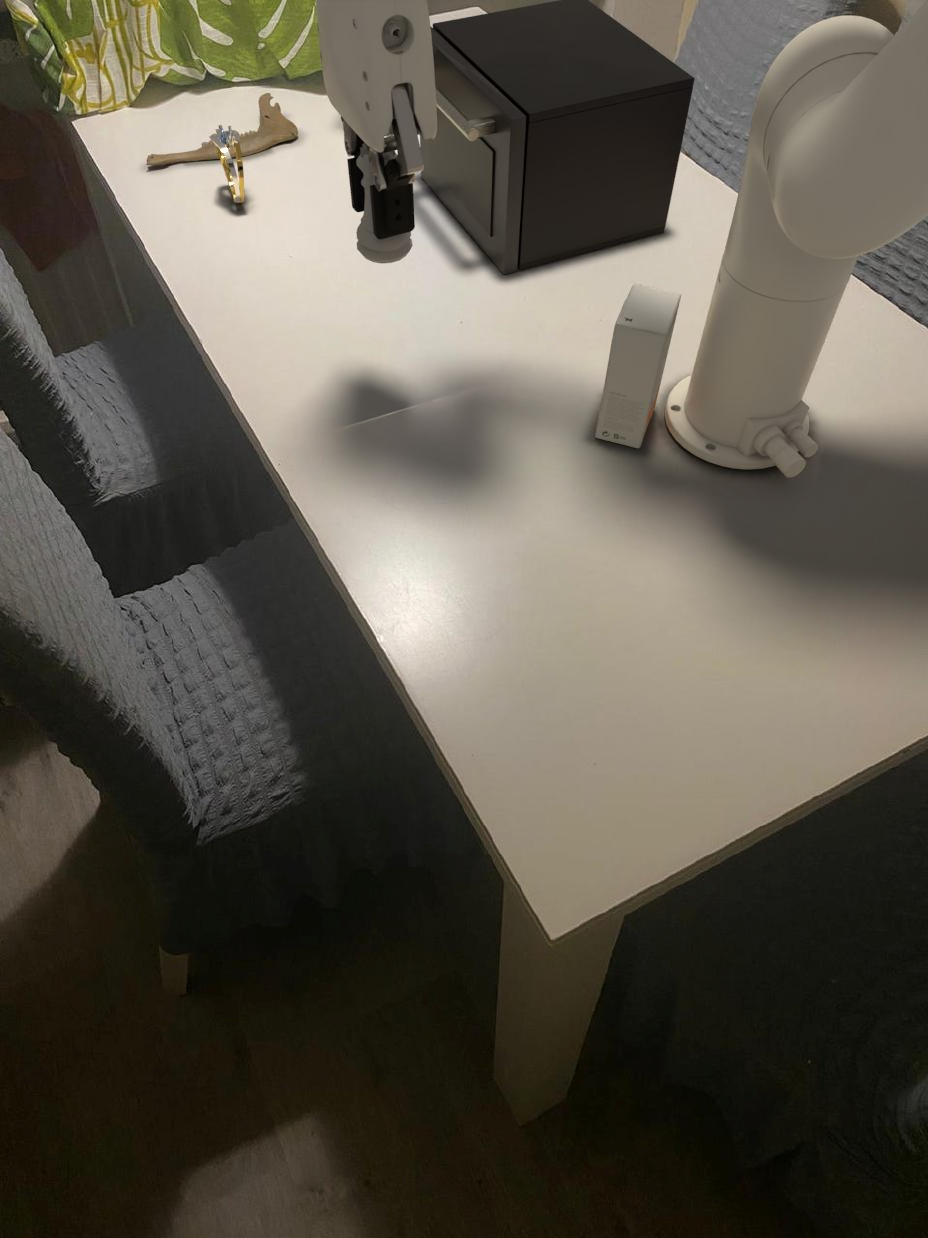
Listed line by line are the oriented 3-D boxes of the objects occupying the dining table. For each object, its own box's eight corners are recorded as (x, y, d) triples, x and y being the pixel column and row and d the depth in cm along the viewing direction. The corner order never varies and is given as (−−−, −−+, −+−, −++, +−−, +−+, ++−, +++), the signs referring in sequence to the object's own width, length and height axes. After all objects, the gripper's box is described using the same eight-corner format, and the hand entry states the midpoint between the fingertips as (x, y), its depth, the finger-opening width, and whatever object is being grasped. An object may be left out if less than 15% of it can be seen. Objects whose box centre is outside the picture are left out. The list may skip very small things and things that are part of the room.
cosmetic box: (640, 450, 79) (666, 335, 69) (593, 439, 80) (613, 323, 70) (656, 407, 82) (683, 291, 73) (611, 396, 83) (631, 280, 73)
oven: (519, 272, 95) (529, 113, 82) (435, 174, 107) (432, 22, 94) (664, 233, 99) (695, 77, 87) (568, 144, 111) (582, -5, 98)
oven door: (477, 282, 93) (480, 126, 81) (396, 182, 105) (388, 32, 93) (517, 271, 95) (526, 116, 82) (433, 173, 106) (430, 24, 94)
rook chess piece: (415, 235, 73) (411, 133, 66) (409, 266, 70) (404, 164, 64) (361, 233, 73) (351, 131, 66) (353, 264, 70) (342, 162, 64)
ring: (257, 213, 101) (243, 141, 95) (229, 218, 101) (213, 146, 94) (245, 183, 105) (232, 111, 99) (218, 187, 105) (202, 116, 98)
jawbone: (319, 133, 113) (318, 116, 112) (194, 200, 104) (191, 183, 103) (269, 105, 116) (267, 88, 114) (143, 168, 107) (139, 151, 105)
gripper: (479, -31, 51) (474, 262, 66) (366, -114, 60) (385, 161, 75) (357, -8, 49) (381, 289, 64) (259, -98, 58) (300, 181, 73)
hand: (383, 217), depth 69 cm, fingers closed on rook chess piece, 3 cm apart
